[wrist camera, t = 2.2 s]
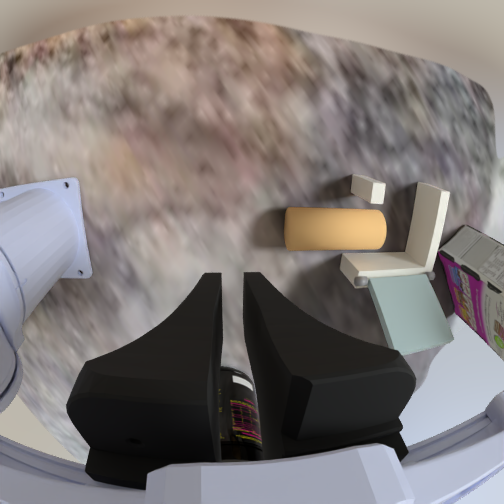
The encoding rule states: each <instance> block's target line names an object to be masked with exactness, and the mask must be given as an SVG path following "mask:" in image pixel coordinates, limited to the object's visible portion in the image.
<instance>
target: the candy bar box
mask: <svg viewBox="0 0 504 504" xmlns="http://www.w3.org/2000/svg"><path fill="white" fill-rule="evenodd" d="M438 254H439V257H440V260H441V263H442V266H443V269H444V272H445V276H446V279H447V282H448V286H449V289H450V293H451V297H452V301H453V305H454V309H455V314H456V315H458V316H459V317H460V318H461V319H462V320H463V321H464V322H465V323H466V324H467V325H468V326H469V327H470V328H471V329H472V330H474V331H475V332H476V333H477V334H478V335H479V336H480V337H481V338H482V339H483V340H484V341H485V342H486V343H487V344H488V345H489V346H490V347H491V348H492V349H493V350H494V351H495V352H496V353H497V354H498V355H499V356H500V358H501V359H502V360H503V361H504V245H503V244H502V243H500V242H498V241H496V240H495V239H493V238H491V237H489V236H487V235H485V234H484V233H481V232H480V231H478V230H476V229H474V228H472V227H470V226H468V225H464V226H463V227H462V228H461V229H459V230H458V231H457V232H456V234H455V235H454V236H453V237H452V238H451V239H450V240H449V241H447V242H446V243H445V244H444V245H443V246H442V247H441V248H440V249H439V250H438Z"/></svg>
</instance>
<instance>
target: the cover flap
mask: <svg viewBox="0 0 504 504" xmlns="http://www.w3.org/2000/svg"><path fill="white" fill-rule="evenodd" d="M367 286H368V288H369V291H370V294H371V297H372V299H373V302H374V305H375V308H376V311H377V314H378V316H379V319H380V322H381V325H382V328H383V331H384V334H385V338H386V341H387V344H388V347H389V348H390V349H394V350H398V351H399V352H400V353H401V355H402V356H403V355H407V354H412V353H416V352H419V351H423V350H427V349H431V348H434V347H438V346H441V345H445V344H448V343H450V342H451V341H453V340H454V337H453V335H452V332H451V329H450V327H449V325H448V322H447V320H446V317H445V315H444V312H443V310H442V308H441V306H440V303H439V301H438V299H437V297H436V294H435V292H434V290H433V288H432V286H431V284H430V282H429V279H428V277H427V275H426V274H422V275H409V276H396V277H382V278H370V279H369V280H368V284H367Z"/></svg>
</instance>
